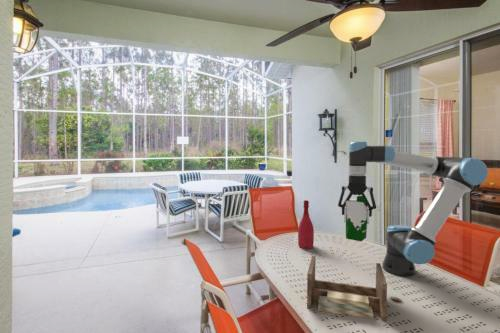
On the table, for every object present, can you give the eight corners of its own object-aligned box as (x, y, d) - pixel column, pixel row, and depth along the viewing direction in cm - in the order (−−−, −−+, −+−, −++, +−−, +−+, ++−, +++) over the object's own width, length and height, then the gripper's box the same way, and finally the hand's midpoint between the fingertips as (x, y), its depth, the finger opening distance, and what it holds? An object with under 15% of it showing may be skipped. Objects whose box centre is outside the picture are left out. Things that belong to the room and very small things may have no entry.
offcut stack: (370, 310, 110) (371, 296, 109) (373, 319, 104) (373, 303, 104) (318, 303, 115) (318, 289, 114) (318, 311, 109) (318, 296, 109)
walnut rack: (379, 295, 121) (380, 263, 120) (385, 321, 103) (387, 284, 102) (311, 285, 129) (312, 255, 128) (307, 307, 111) (307, 273, 110)
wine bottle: (313, 249, 174) (314, 202, 172) (297, 248, 176) (298, 201, 174) (313, 244, 184) (313, 199, 182) (298, 243, 186) (298, 198, 184)
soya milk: (362, 242, 126) (363, 198, 124) (342, 238, 132) (343, 196, 130) (368, 237, 133) (369, 195, 131) (349, 234, 138) (350, 194, 137)
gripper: (332, 175, 130) (331, 222, 131) (384, 176, 123) (383, 226, 125) (332, 173, 137) (332, 218, 138) (382, 174, 130) (380, 222, 132)
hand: (356, 222), depth 132 cm, fingers closed on soya milk, 9 cm apart
